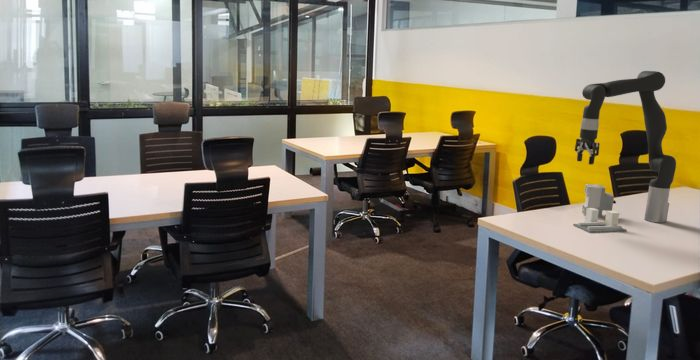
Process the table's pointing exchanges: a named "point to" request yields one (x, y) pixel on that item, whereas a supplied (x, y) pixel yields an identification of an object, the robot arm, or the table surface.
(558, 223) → the table surface
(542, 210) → the table surface
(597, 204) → the circuit breaker
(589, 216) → the block
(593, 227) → the rail plate
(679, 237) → the table surface
